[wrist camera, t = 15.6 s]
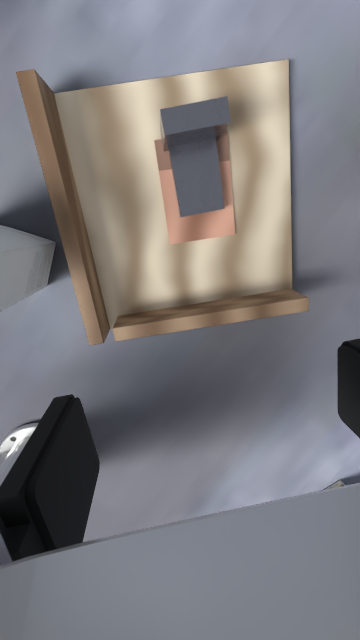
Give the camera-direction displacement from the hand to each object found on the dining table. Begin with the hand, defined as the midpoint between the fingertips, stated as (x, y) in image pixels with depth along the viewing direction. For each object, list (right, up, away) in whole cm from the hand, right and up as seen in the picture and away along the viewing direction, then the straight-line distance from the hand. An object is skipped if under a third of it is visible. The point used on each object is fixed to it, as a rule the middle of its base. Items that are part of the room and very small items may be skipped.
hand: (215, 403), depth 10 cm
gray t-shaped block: (0, +20, +22) cm, 29 cm away
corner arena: (-1, +16, +24) cm, 29 cm away
